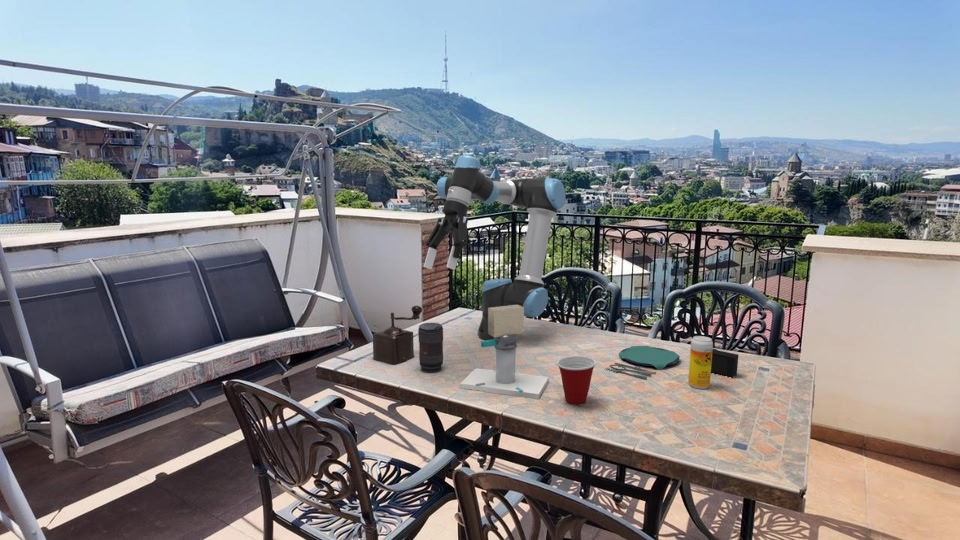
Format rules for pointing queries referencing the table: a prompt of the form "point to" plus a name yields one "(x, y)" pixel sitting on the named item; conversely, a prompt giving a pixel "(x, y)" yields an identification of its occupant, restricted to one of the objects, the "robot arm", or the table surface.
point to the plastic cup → (576, 377)
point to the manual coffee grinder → (395, 341)
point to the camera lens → (430, 347)
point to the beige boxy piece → (504, 326)
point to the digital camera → (724, 363)
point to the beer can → (700, 362)
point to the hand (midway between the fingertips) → (438, 268)
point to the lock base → (505, 378)
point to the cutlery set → (645, 359)
